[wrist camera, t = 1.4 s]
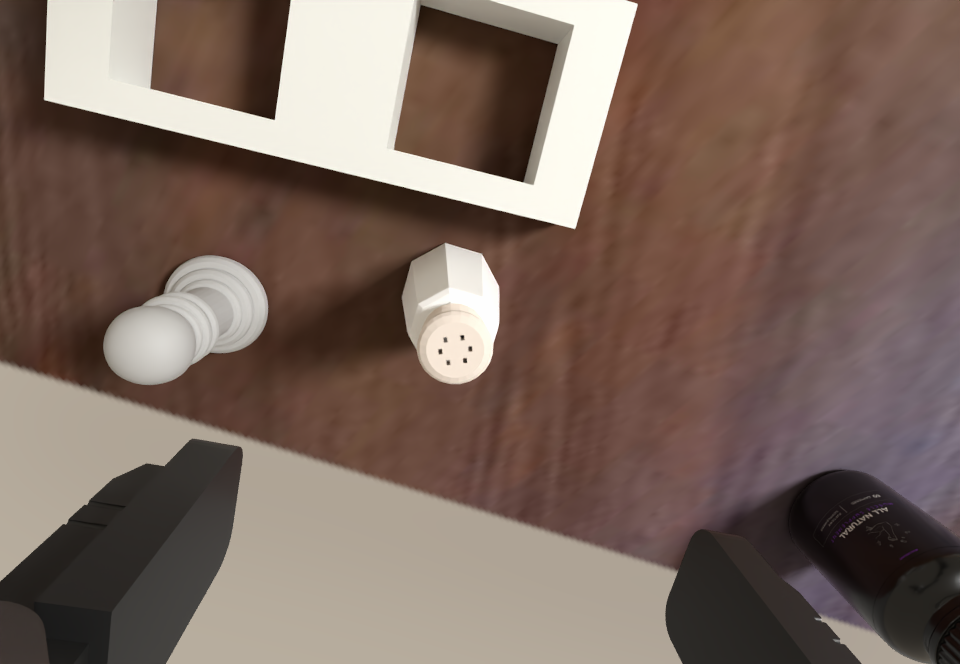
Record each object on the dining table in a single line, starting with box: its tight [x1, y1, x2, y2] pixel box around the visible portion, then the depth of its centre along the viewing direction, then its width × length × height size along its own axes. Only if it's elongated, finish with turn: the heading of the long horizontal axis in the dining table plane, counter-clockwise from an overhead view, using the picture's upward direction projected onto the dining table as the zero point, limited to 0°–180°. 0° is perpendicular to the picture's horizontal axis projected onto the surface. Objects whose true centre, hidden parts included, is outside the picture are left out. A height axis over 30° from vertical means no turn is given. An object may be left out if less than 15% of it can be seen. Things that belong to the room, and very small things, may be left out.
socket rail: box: [44, 0, 638, 229], centre depth 25 cm, size 24×10×4 cm, turn 76°
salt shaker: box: [402, 243, 499, 384], centre depth 25 cm, size 5×5×11 cm
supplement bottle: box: [789, 470, 960, 664], centre depth 30 cm, size 7×7×12 cm
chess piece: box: [103, 255, 268, 385], centre depth 25 cm, size 5×5×9 cm
